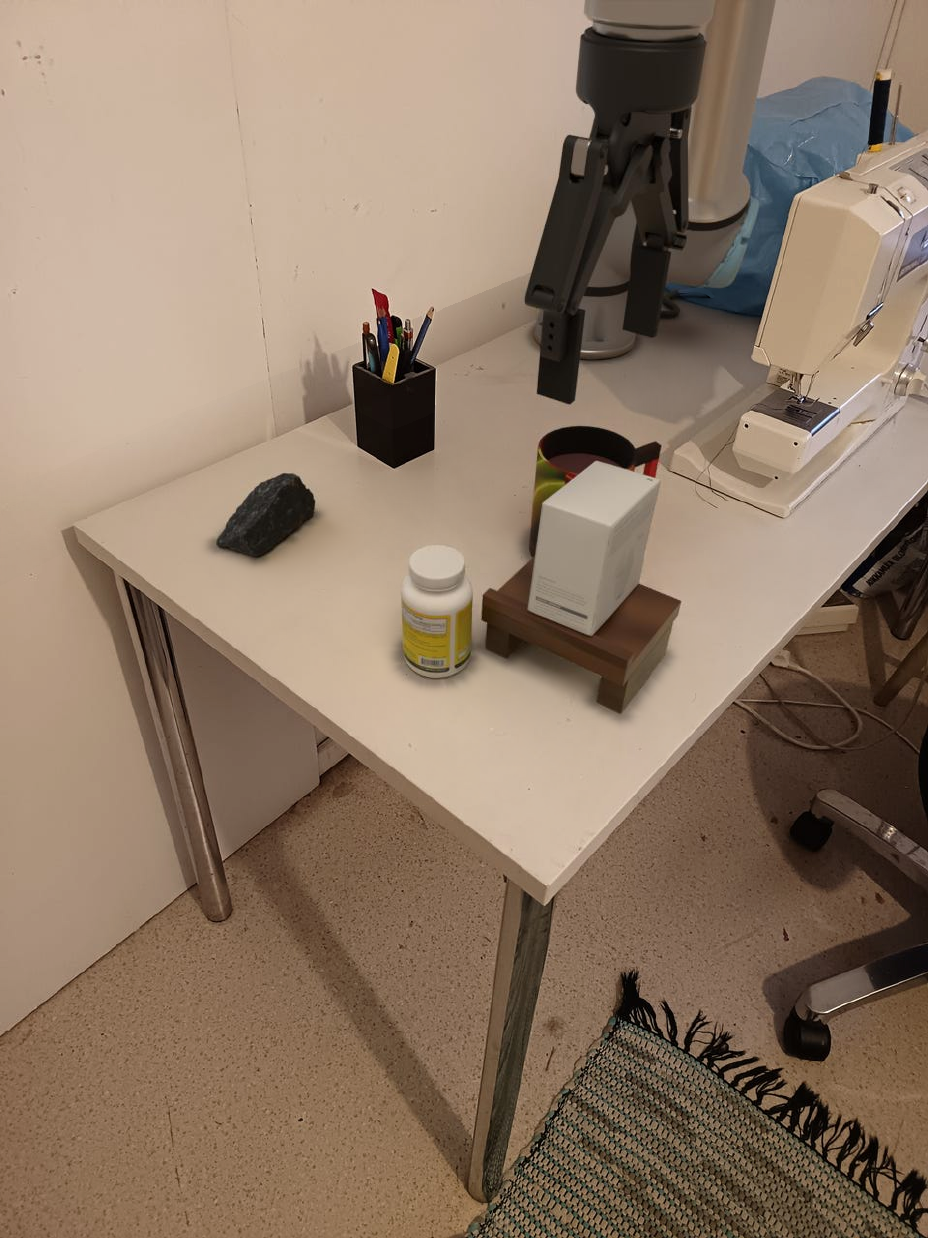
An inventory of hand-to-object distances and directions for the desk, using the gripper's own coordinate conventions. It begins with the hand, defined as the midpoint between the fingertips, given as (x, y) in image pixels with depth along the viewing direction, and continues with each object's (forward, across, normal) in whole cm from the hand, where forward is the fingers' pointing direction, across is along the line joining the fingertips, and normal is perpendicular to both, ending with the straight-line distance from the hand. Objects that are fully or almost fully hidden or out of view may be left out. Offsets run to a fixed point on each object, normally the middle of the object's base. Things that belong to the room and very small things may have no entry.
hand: (600, 363), depth 66 cm
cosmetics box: (+20, +3, +3) cm, 20 cm away
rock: (+27, +6, -33) cm, 43 cm away
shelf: (+26, +3, +3) cm, 27 cm away
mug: (+27, -13, -5) cm, 30 cm away
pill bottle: (+27, +11, -7) cm, 30 cm away
